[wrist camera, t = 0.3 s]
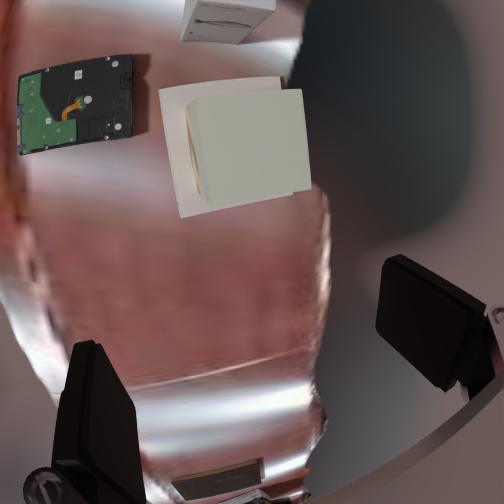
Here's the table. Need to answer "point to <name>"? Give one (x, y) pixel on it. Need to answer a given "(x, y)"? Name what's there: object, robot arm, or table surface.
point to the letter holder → (282, 501)
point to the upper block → (250, 145)
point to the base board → (177, 138)
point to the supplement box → (223, 19)
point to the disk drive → (75, 104)
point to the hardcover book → (218, 481)
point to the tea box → (250, 498)
